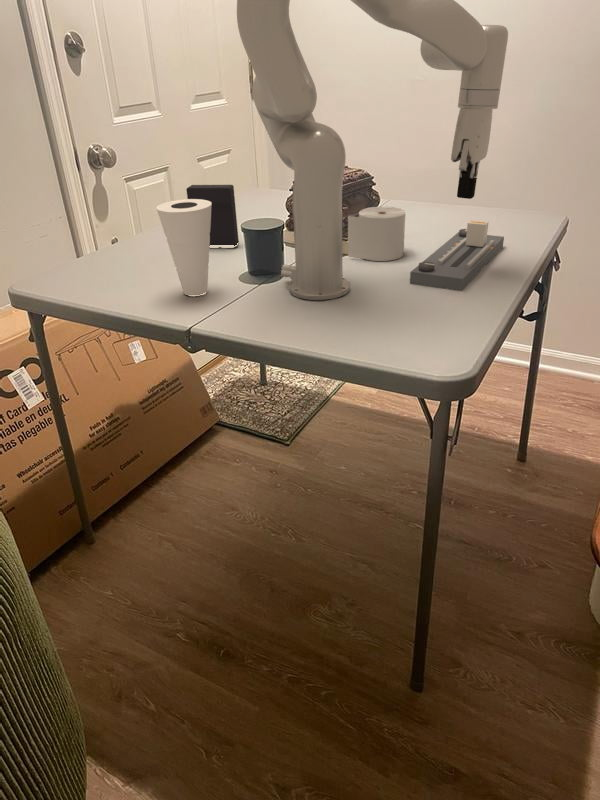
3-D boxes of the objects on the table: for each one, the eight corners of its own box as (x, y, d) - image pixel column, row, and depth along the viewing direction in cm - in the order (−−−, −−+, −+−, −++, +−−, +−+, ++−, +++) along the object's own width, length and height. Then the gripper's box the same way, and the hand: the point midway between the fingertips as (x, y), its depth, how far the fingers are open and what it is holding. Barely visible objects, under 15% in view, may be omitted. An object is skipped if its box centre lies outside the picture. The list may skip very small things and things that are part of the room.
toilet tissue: (412, 253, 147) (414, 210, 142) (383, 266, 140) (384, 221, 135) (376, 245, 154) (376, 204, 149) (345, 258, 146) (345, 215, 141)
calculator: (239, 244, 159) (234, 183, 152) (235, 249, 156) (229, 187, 148) (199, 243, 161) (191, 184, 154) (193, 248, 158) (185, 187, 150)
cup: (231, 291, 130) (222, 203, 121) (190, 306, 124) (177, 214, 114) (200, 280, 137) (189, 196, 127) (160, 294, 130) (145, 207, 121)
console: (409, 283, 130) (410, 265, 128) (457, 242, 153) (459, 226, 151) (461, 290, 125) (463, 272, 123) (502, 247, 148) (504, 231, 146)
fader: (465, 245, 142) (467, 222, 139) (468, 242, 143) (470, 219, 141) (482, 247, 140) (485, 224, 137) (486, 244, 142) (488, 221, 139)
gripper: (470, 96, 127) (458, 189, 136) (447, 101, 116) (435, 202, 125) (507, 98, 124) (492, 193, 133) (487, 102, 113) (472, 206, 122)
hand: (465, 197), depth 129 cm, fingers closed
